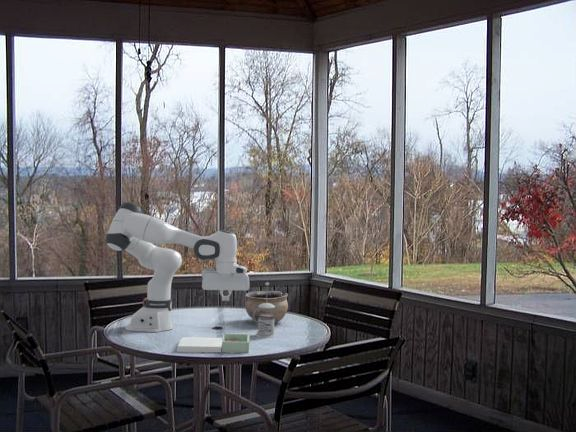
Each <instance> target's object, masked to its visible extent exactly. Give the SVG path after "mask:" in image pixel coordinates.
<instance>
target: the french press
mask: <svg viewBox="0 0 576 432" xmlns="http://www.w3.org/2000/svg"><path fill="white" fill-rule="evenodd" d="M264 285H265V286H269V285H270V283H269V282H265V283H264ZM258 307H259V308H262V309H266V314H264V313H263V314H259V316H260V317H259V318H258V322H256V320H255V321H254V320H253V319H252V321H253V322H255V324H256V325H257V333H256V334H255V337H257V338H260V339H261V338H262V339H272V338H273V339H274V338H276V337H277V334H276V333H275V323H274V318H273V316H274V315H273V314H269V313H268V314H267V309H273V308H275V306H274V305H273V304H270V303H263V304H260V305H259V306H258ZM259 308H258V309H259ZM256 310H257V309H256ZM256 310H255V311H256ZM259 311H260V309H259V310H258V312H259ZM253 313H254V314H255V312H253ZM254 319H255V317H254ZM264 319H270V320H264Z"/></svg>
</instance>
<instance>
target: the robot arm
mask: <svg viewBox="0 0 576 432" xmlns="http://www.w3.org/2000/svg"><path fill="white" fill-rule="evenodd" d="M105 235H106V236H105V239H104V242H105V244H106V245H107V247H109V248H110V249H112V250H115V251H118V252H119V251H120V252H123V251H126V252H128V253H129V254H131V255H132V256H133V257H135V259H137V261H138V264H139V265H141V266H142V267H144V268H145V269H148V270H153V271H154V273H153V276H152V278H151V279H150V280H149V281H148V282H147V290H146V291H147V297H145V298H143V300H142V307H141V308H140V309H138V310H137V311H136V312H135V313H133V314H132V316H131V318H130V323H128V324H126V326H125V330H126V331H131V332H132V331H133V332H145V333H159V332H163V331H169V330H173V329H174V323H173V319H172V318H173V317H172V309H173V308H172V307H173V306H172V304H173V303H172V302H173V301H172V298H171V297H172V294H171V293H172V281H173V278H174V276H175V273H177V271H178V270H179V268H181V266H182V262H183V257H182V255H181V254H180V253H179V251H176V250H174V249H172V248H166V247H160V246H157V245H166V244H176V245H182V246H184V247H188V248H189V249H193V253H194V256H196V258H197V259H199V260H201V261H209V260H215V267H205V268H203V269H202V271H201V278H202V283H201V288H202V290H204V291H219V295H220V297H221V301H223V302H224V301H225V302H228V301H230V296H231V295H232V292H233V291H241V292H242V291H243V292H246V291H248V290H250V278H249V275H248V273H247V272H248V268H247V267H246V266H244V265H241V264H238V261H237V253H238V240H237V236H236V234H235V233H234V232H233V231H231V230H227V229H219V230H217V231H216V232H215V233H213V234H208V235H199V234H196V233H192V232H190V231H186V230H183V229H180V228H179V227H177V226H174V225H172V224H170V223H168V222H167V221H164V220H162V219H160V218H158V217H155V216H152V215H149V214H145V213H143V211H142V209H141V207H139V206H138V205H136V204H135V203H132V202H130V201H129V202H123V203H122V204H121V205H120V206H119V207H118V210H117V212H116V213H115V215H114V216H113V219H112V221H111V224H110V226H109V229H108V232H107V233H106V234H105ZM224 291H228V292H227V293H228V294H227V295H224V294H223V293H224Z"/></svg>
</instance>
